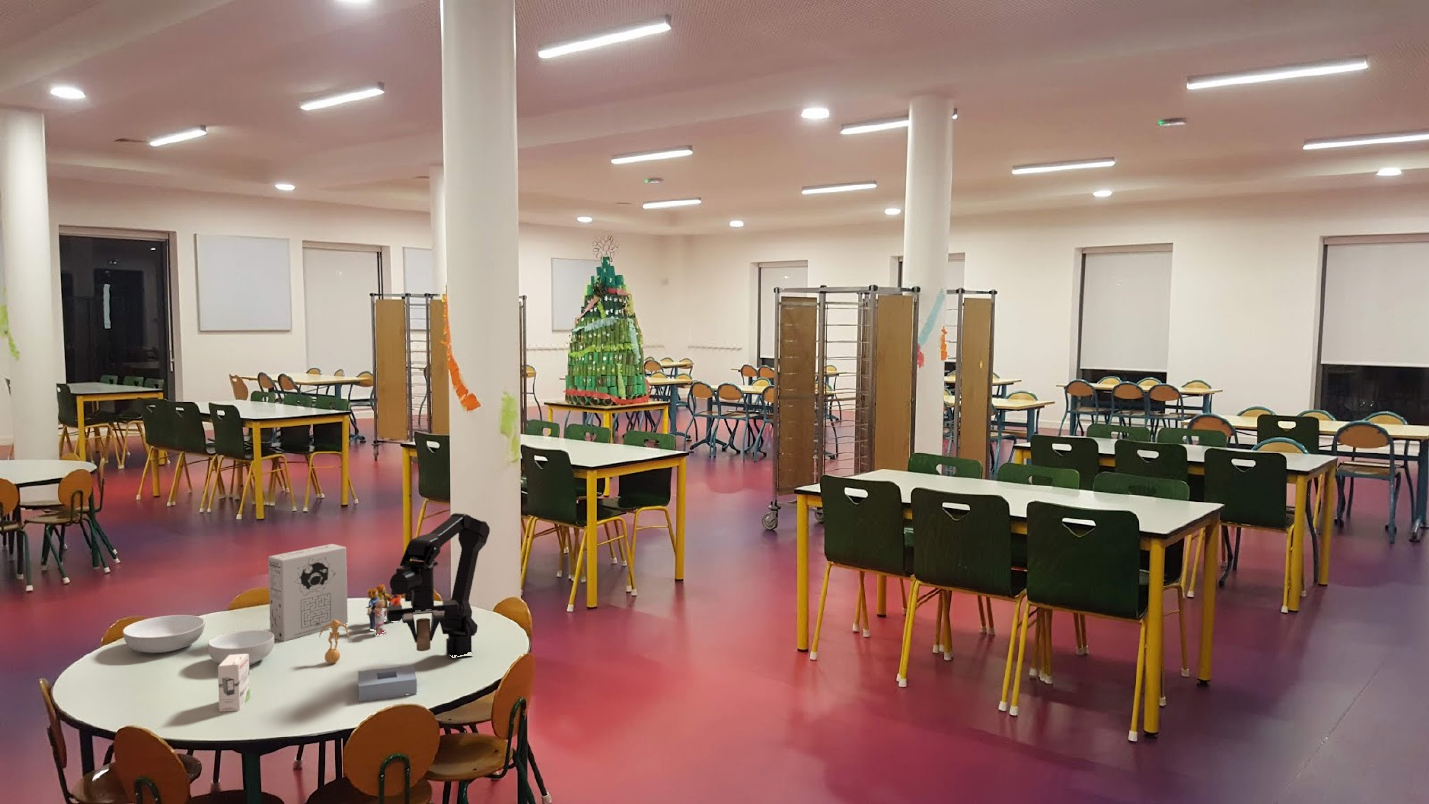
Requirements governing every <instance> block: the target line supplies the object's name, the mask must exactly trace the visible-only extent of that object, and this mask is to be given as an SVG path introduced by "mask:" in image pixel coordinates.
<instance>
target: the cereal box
mask: <svg viewBox="0 0 1429 804" xmlns="http://www.w3.org/2000/svg"><path fill="white" fill-rule="evenodd" d="M267 560H268V561H267V562H268V565H267V567H268V592H269V593H268V594H269V596H268V597H269V599H268V601H269V626H270V627H269V628H270V629H269V632H271V633H273V634H274V640H275V639H276V640H277V641H281V642H287V641H291V640H295V639H297V638H302V637H305V636H310V635H312V634H318V633H321V631H322V630H323V628H324V626H325V625H327V624H329V623H331V622H332V621H333V620H334V619H335V620H338V621H339V622H340V623H342V624H346V623H348V622H349V621H348V616H349V615H348V614H349V613H348V576H347V575H348V573H347V570H348V569H347V547H346V546H344V545H343V546H342V545H339V544H334V543H329V544H324V545H320V546H319V545H318V546H314V547H309V548H304V549H300V550H294V551H289V552H283V553H279V554H274V555H269V556H267ZM346 625H347V624H346ZM328 628H331V626H328V627H325V629H324V631H326V629H327V630H329V629H328ZM331 629H332V628H331Z"/></svg>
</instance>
